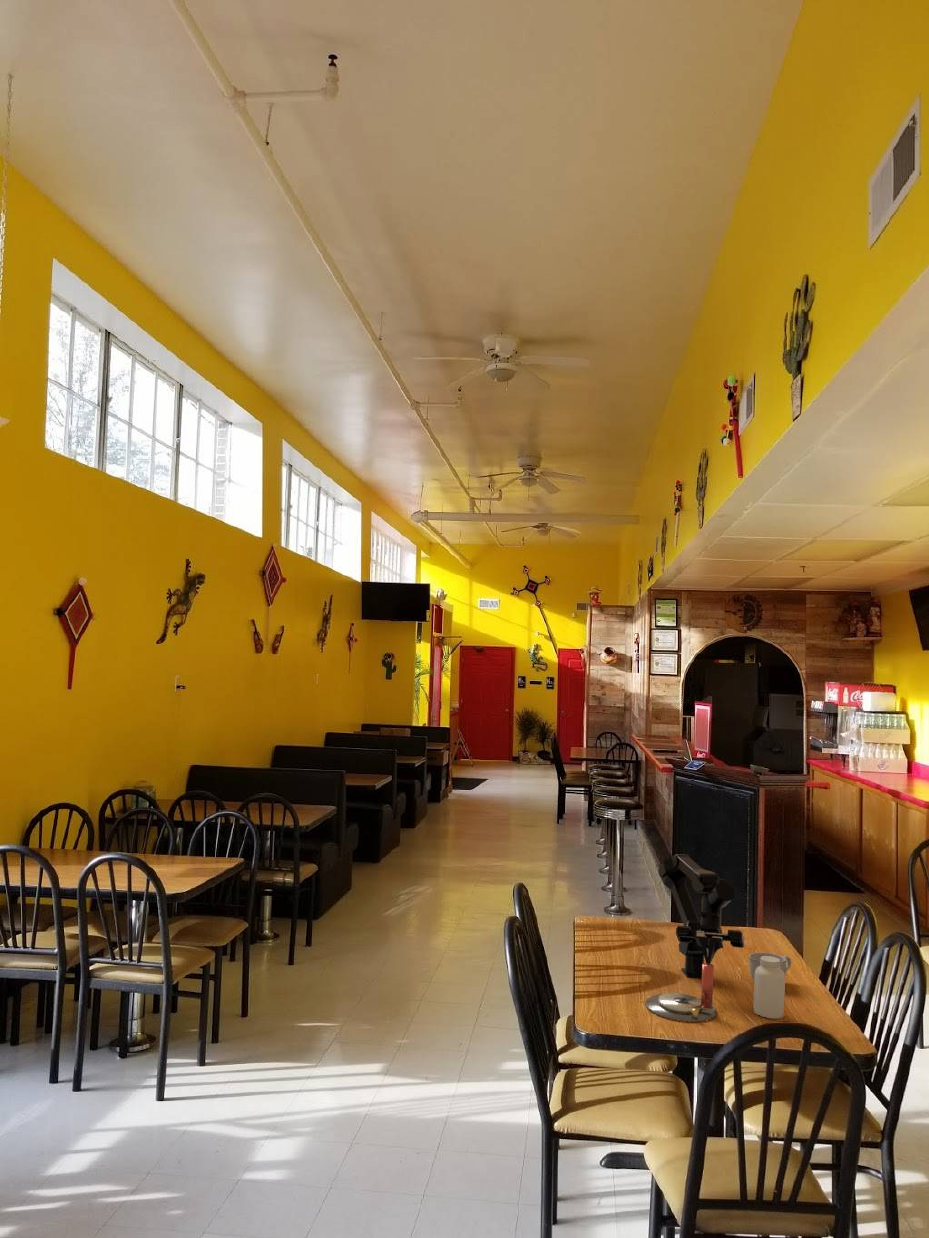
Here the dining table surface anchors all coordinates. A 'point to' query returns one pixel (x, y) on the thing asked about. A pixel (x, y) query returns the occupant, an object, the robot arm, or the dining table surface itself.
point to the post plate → (658, 1010)
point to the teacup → (756, 956)
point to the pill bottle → (769, 988)
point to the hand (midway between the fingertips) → (707, 964)
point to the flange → (687, 1002)
